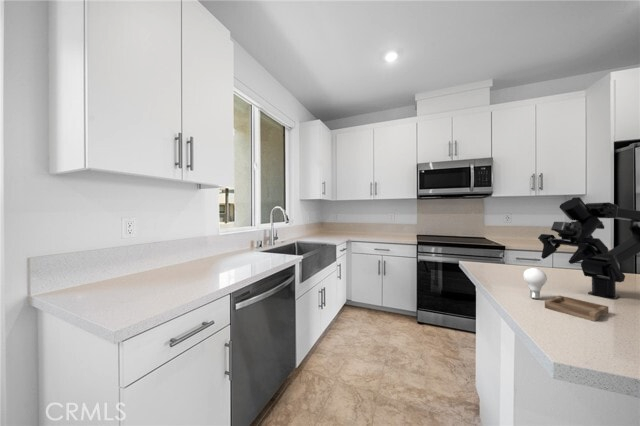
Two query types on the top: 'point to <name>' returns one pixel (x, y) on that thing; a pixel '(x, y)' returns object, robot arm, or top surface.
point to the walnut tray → (577, 308)
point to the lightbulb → (535, 281)
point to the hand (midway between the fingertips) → (555, 260)
